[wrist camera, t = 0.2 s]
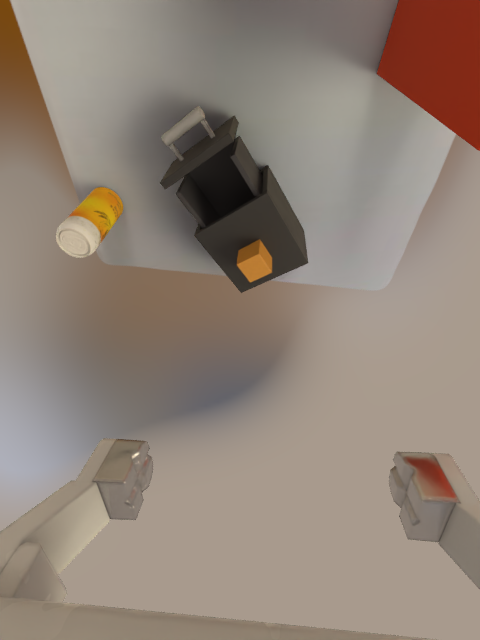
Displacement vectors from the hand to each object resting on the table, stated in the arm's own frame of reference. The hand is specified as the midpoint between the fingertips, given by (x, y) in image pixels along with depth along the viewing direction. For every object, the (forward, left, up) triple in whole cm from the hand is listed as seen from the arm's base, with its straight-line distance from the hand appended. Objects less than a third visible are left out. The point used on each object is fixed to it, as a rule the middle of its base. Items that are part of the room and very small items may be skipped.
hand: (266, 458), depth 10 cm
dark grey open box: (+16, +10, -52) cm, 55 cm away
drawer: (+12, -1, -51) cm, 52 cm away
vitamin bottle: (+31, -14, -52) cm, 62 cm away
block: (+16, +11, -41) cm, 46 cm away
